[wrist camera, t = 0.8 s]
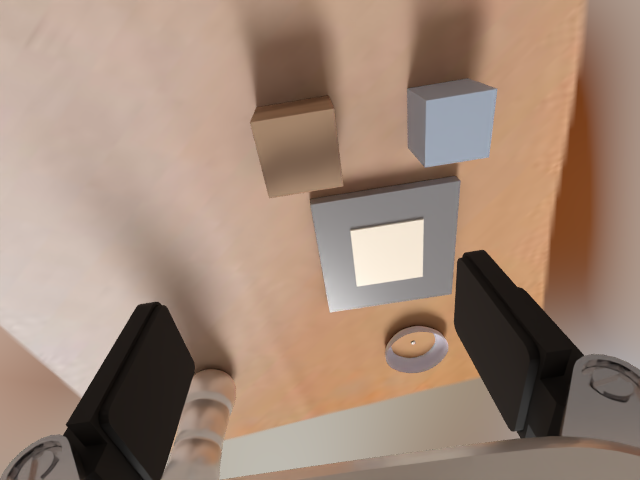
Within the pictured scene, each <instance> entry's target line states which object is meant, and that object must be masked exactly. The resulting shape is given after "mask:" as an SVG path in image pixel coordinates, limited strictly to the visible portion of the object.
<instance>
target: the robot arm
mask: <svg viewBox="0 0 640 480" xmlns="http://www.w3.org/2000/svg"><path fill="white" fill-rule="evenodd" d="M454 325H455V329H456V332H457V334H458V336H459V338H460V340H461V341H462V343H463V345H464V347H465V349H466V351H467V352H468V354H469V356H470V358H471V360H472V362H473V364H474V365H475V367H476V369H477V371H478V373H479V375H480V376H481V378H482V380H483V382H484V384H485V385H486V387H487V389H488V391H489V393H490V395H491V397H492V399H493V400H494V402H495V404H496V406H497V408H498V409H499V411H500V413H501V415H502V417H503V419H504V421H505V422H506V424H507V426H508V428H509V429H510V430H511V431H517V433H518V434H519V436H520V439H512V440H503V441H494V442H486V443H479V444H470V445H461V446H454V447H446V448H440V449H432V450H425V451H417V452H410V453H403V454H396V455H389V456H382V457H374V458H367V459H361V460H353V461H346V462H339V463H333V464H325V465H318V466H311V467H304V468H297V469H290V470H284V471H277V472H270V473H263V474H256V475H249V476H242V477H236V478H229V479H222V480H640V370H639V369H638V368H636V367H634V366H633V365H631V364H629V363H628V362H625V361H623V360H621V359H618V358H616V357H611V356H607V355H599V354H591V355H587V356H584V355H583V354H582V352H580V350H579V349H578V348H577V347H576V346H575V345H574V344H573V343H572V341H571V340H570V339H569V338H568V337H567V336H566V335H565V334H564V333H563V332H562V331H561V329H560V328H559V327H558V326H557V325H556V324H555V323H554V322H553V321H552V319H551V318H550V317H549V316H548V315H547V314H546V313H545V312H544V311H543V309H542V308H541V307H540V306H539V305H538V304H537V303H536V302H535V301H534V300H533V298H532V297H531V296H530V295H529V294H528V293H527V292H526V291H525V290H524V289H522V288H520V287H517V286H516V285H515V284H514V283H513V282H512V281H511V279H510V278H509V277H508V276H507V275H506V274H505V273H504V272H503V270H502V269H501V268H500V267H499V266H498V265H497V264H496V263H495V261H494V260H493V259H492V258H491V257H490V256H489V255H488V254H487V252H486V251H484V250H479V251H473V252H466V253H464V254H463V257H462V258H459V259H458V261H457V277H456V295H455V313H454ZM194 371H195V365H194V361H193V359H192V357H191V355H190V353H189V351H188V349H187V347H186V345H185V343H184V341H183V339H182V337H181V335H180V333H179V331H178V329H177V327H176V325H175V323H174V320H173V318H172V316H171V314H170V312H169V310H168V308H167V307H166V306H165V305H161V304H160V303H159V302H152V303H146V304H140V305H138V306H137V307H136V309H135V310H134V312H133V314H132V315H131V317H130V319H129V320H128V322H127V324H126V325H125V327H124V329H123V330H122V332H121V334H120V335H119V337H118V339H117V340H116V342H115V344H114V345H113V347H112V349H111V350H110V352H109V354H108V355H107V357H106V359H105V360H104V362H103V364H102V365H101V367H100V369H99V370H98V372H97V374H96V375H95V377H94V379H93V380H92V382H91V384H90V385H89V387H88V389H87V390H86V392H85V394H84V395H83V397H82V399H81V400H80V402H79V404H78V405H77V407H76V409H75V410H74V412H73V414H72V415H71V417H70V419H69V421H68V422H67V424H66V426H67V427H68V428H67V430H66V431H65V433H64V435H63V436H62V435H50V436H47V437H44V438H41V439H40V440H38V441H36V442H35V443H32V444H31V445H30V446H28V447H27V448H25V449H24V450H23V451H21V452H20V453H19V454H18V455H17V456H16V457H15V458H14V459H13V460H12V461H11V463H10V464H9V465H8V467H7V468H6V469H5V471H4V472H3V474H2V476H1V478H0V480H161V478H162V476H163V473H164V469H165V466H166V463H167V460H168V456H169V453H170V450H171V447H172V443H173V440H174V437H175V434H176V431H177V427H178V424H179V421H180V418H181V414H182V411H183V408H184V405H185V401H186V398H187V395H188V392H189V388H190V385H191V382H192V379H193V375H194Z"/></svg>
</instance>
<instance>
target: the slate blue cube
mask: <svg viewBox="0 0 640 480" xmlns="http://www.w3.org/2000/svg"><path fill="white" fill-rule="evenodd" d="M496 96H497V89H496V88H493V87H491V86H488V85H485V84H482V83H479V82H477V81H474V80H471V79H468V78H467V79H461V80H455V81H449V82H443V83H437V84H432V85H426V86H420V87H414V88H408V89H407V114H408V148H409V150H410V151H411V152H412V153H413V154H414V155H415V157H416V158H417V159H418V160H419V161H420V162H421V164H422V165H423V166H424V167H431V166H437V165H444V164H450V163H456V162H462V161H468V160H475V159H481V158H487V157H489V153H490V144H491V136H492V128H493V120H494V112H495V104H496Z"/></svg>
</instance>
